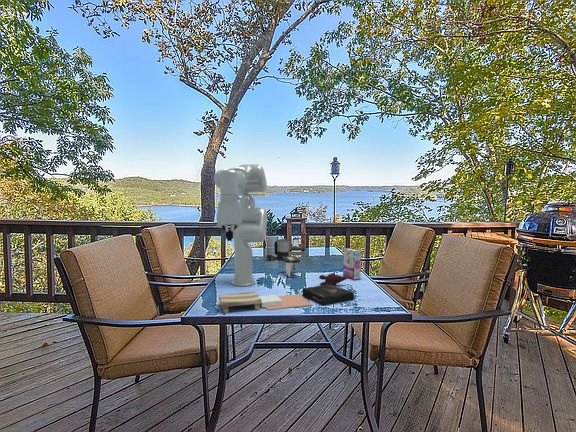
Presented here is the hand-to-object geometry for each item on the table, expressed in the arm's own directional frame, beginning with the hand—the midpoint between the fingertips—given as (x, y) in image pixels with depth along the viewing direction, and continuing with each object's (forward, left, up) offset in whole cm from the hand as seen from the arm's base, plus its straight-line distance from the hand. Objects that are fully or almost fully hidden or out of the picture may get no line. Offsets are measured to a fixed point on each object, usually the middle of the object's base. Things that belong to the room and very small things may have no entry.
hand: (229, 240), depth 146 cm
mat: (+9, +23, -27) cm, 36 cm away
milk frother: (-88, +49, -27) cm, 104 cm away
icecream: (-10, +56, -27) cm, 63 cm away
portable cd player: (+9, +44, -28) cm, 53 cm away
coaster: (+9, +16, -27) cm, 32 cm away
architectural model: (-39, +43, -28) cm, 64 cm away
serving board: (+9, +3, -27) cm, 29 cm away
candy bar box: (-22, +74, -27) cm, 82 cm away
